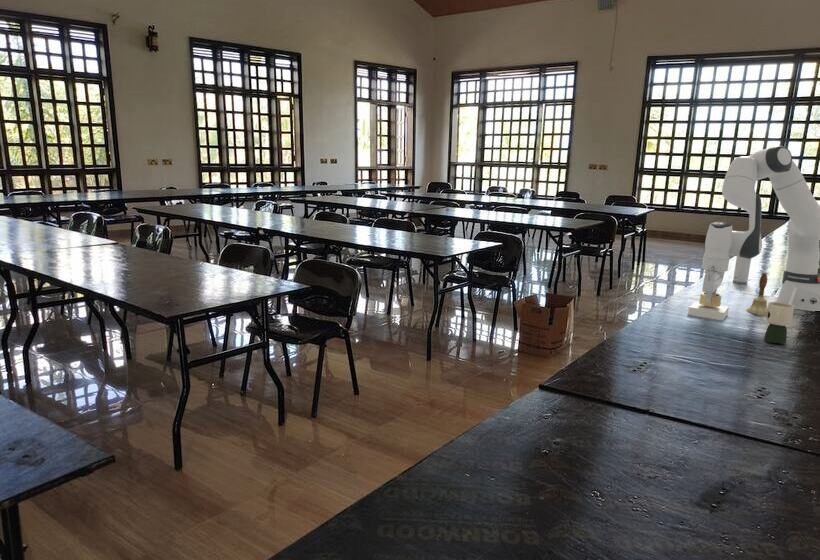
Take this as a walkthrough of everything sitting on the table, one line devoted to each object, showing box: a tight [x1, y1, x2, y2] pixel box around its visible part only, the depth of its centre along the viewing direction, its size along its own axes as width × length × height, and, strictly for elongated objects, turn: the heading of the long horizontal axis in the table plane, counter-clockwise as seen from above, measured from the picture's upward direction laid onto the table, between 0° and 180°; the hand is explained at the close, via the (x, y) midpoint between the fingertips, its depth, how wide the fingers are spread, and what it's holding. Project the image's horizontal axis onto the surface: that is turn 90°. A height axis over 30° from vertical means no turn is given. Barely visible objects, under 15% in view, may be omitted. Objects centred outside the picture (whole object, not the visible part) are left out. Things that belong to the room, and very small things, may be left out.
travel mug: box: [732, 256, 752, 285], centre depth 285 cm, size 6×7×20 cm
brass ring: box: [698, 291, 722, 307], centre depth 222 cm, size 7×7×4 cm
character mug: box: [763, 301, 795, 345], centre depth 188 cm, size 11×7×13 cm, turn 140°
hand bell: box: [745, 272, 768, 316], centre depth 228 cm, size 8×8×16 cm
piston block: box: [687, 294, 730, 322], centre depth 222 cm, size 12×12×8 cm
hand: (710, 300), depth 222 cm, fingers closed on brass ring, 7 cm apart
